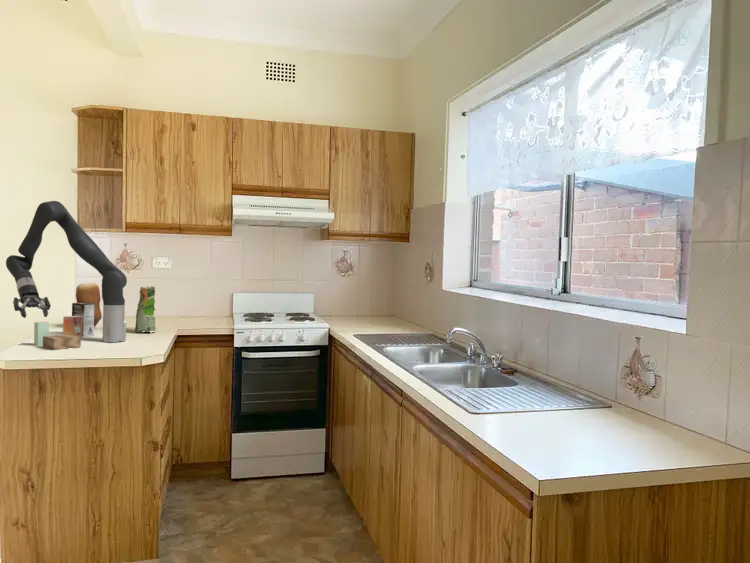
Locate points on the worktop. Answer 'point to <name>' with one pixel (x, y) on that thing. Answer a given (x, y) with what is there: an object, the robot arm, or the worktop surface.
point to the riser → (61, 342)
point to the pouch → (146, 310)
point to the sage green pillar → (40, 332)
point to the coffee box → (85, 316)
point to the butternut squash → (90, 298)
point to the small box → (72, 325)
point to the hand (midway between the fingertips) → (35, 316)
